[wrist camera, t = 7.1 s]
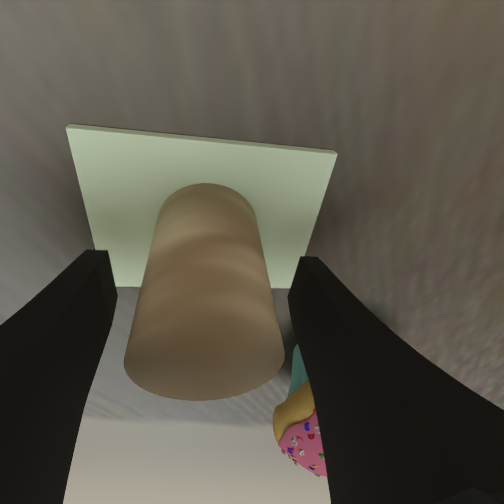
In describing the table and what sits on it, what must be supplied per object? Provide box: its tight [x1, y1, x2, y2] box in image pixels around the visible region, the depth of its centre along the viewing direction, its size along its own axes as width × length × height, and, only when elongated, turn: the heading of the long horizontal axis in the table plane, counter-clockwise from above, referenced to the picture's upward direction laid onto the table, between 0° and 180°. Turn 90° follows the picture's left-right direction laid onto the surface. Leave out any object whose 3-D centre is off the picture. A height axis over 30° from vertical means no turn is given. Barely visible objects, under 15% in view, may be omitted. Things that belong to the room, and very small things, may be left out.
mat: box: [66, 124, 338, 288], centre depth 12 cm, size 9×7×1 cm
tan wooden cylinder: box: [124, 183, 285, 401], centre depth 10 cm, size 4×4×6 cm
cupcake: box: [273, 343, 327, 477], centre depth 15 cm, size 9×8×12 cm
